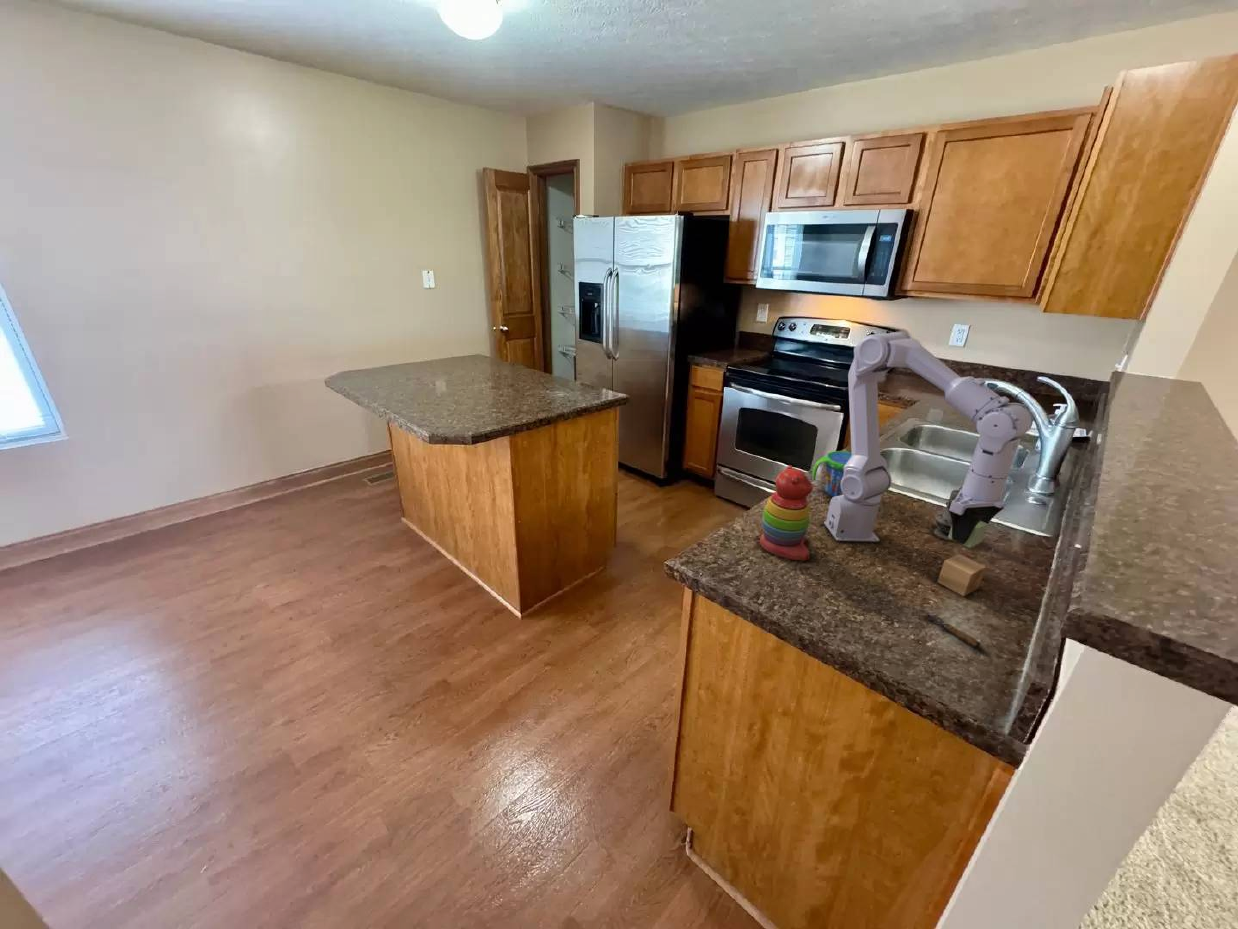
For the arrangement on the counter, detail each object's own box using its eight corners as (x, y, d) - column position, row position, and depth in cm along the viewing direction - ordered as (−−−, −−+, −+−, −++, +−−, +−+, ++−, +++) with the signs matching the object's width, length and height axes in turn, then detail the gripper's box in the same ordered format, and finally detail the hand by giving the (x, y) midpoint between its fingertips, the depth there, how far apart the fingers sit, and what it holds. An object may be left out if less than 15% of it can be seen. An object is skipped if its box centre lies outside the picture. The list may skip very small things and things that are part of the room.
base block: (963, 596, 96) (971, 574, 94) (937, 582, 100) (944, 560, 98) (977, 588, 98) (986, 566, 96) (951, 574, 102) (958, 553, 100)
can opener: (979, 647, 83) (982, 642, 83) (970, 651, 82) (972, 645, 82) (930, 613, 91) (931, 608, 90) (920, 616, 90) (922, 611, 90)
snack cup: (869, 489, 137) (878, 454, 132) (876, 507, 127) (885, 470, 123) (808, 481, 140) (814, 447, 136) (809, 498, 131) (817, 462, 127)
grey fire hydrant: (959, 544, 112) (975, 495, 108) (929, 535, 116) (943, 487, 111) (962, 533, 117) (978, 486, 112) (933, 525, 120) (947, 478, 115)
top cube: (969, 548, 93) (976, 529, 92) (947, 537, 96) (953, 519, 95) (981, 542, 95) (988, 523, 93) (959, 532, 98) (965, 514, 97)
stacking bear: (810, 562, 105) (826, 484, 97) (759, 556, 106) (771, 478, 99) (804, 535, 114) (818, 462, 107) (757, 530, 116) (768, 457, 109)
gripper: (990, 489, 84) (965, 559, 89) (1033, 472, 90) (1008, 538, 96) (947, 473, 89) (926, 540, 95) (990, 458, 96) (969, 521, 101)
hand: (964, 538), depth 96 cm, fingers closed on top cube, 4 cm apart
